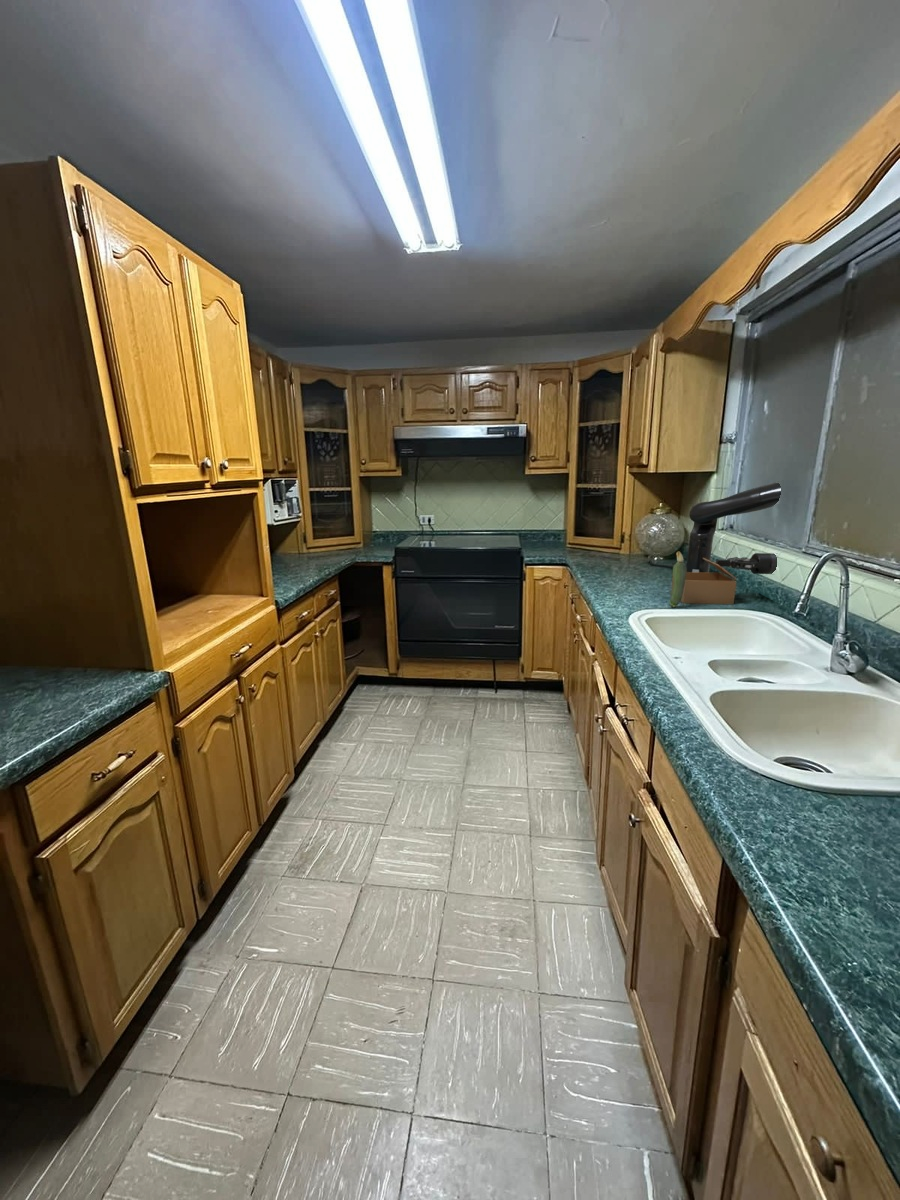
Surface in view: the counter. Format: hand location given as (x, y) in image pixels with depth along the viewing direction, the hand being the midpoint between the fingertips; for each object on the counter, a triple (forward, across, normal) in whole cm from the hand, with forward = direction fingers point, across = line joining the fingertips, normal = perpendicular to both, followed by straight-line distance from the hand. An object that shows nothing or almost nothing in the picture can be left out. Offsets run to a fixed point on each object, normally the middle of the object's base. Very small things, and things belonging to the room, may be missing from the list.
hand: (716, 563), depth 176 cm
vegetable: (+17, +14, +14) cm, 26 cm away
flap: (-1, 0, +2) cm, 2 cm away
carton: (+4, 0, +14) cm, 14 cm away
